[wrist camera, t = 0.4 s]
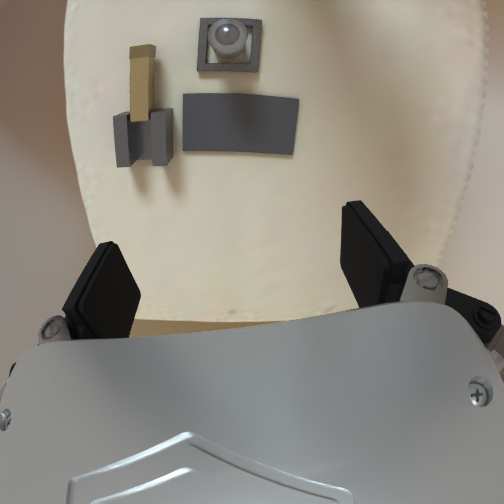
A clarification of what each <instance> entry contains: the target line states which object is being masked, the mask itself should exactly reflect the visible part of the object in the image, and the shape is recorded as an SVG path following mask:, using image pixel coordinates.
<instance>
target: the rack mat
mask: <svg viewBox="0 0 504 504" xmlns="http://www.w3.org/2000/svg"><path fill="white" fill-rule="evenodd" d="M298 103H299V99H293V98H285V97H275V96H263V95H248V94H221V93H195V94H183V151H239V152H259V153H275V154H288V155H292V154H293V146H294V138H295V130H296V121H297V112H298Z"/></svg>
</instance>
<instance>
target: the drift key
mask: <svg viewBox="0 0 504 504" xmlns="http://www.w3.org/2000/svg"><path fill="white" fill-rule="evenodd" d="M155 54H156V46H154V45H151V44H148V45H140V46H134V47H130V57H129V59H130V119H131V122H135V121H147V120H150V119H151V112H154V111H153V90H154V57H155Z"/></svg>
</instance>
